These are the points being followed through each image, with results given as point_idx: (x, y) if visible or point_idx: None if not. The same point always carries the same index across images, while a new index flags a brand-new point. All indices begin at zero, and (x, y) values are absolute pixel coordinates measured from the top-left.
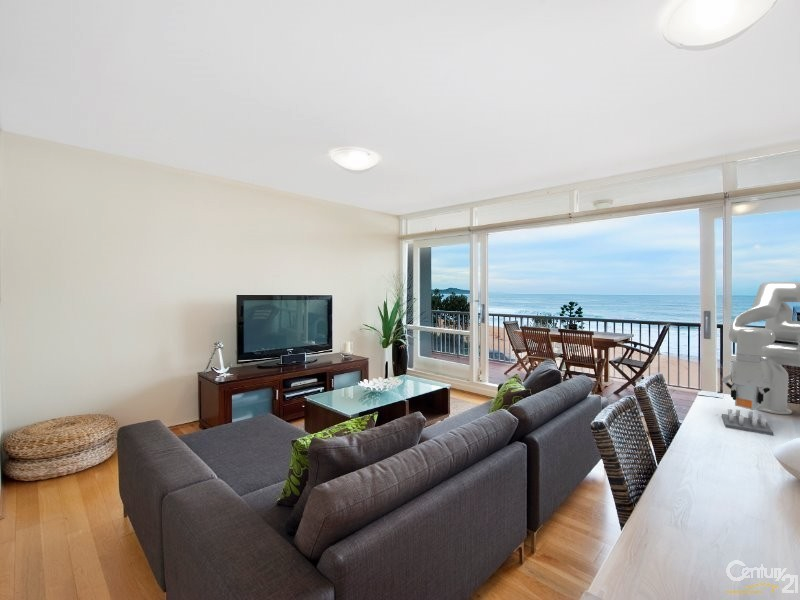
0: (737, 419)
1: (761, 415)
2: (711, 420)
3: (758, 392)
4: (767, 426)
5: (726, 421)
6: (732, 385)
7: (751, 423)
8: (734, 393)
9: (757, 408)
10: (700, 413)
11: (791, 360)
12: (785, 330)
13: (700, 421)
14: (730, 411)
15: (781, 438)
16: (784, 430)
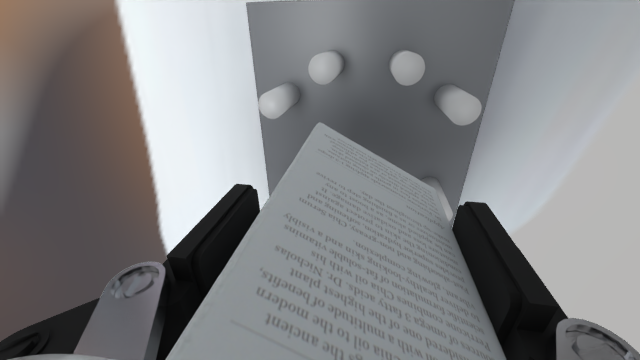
0: (327, 102)
1: (464, 124)
2: (222, 144)
3: (525, 308)
4: (460, 158)
5: (275, 180)
6: (108, 340)
7: (387, 146)
8: None
9: (434, 192)
10: (152, 22)
11: None
12: None
13: (191, 188)
14: (277, 116)
15: None
16: (561, 112)
